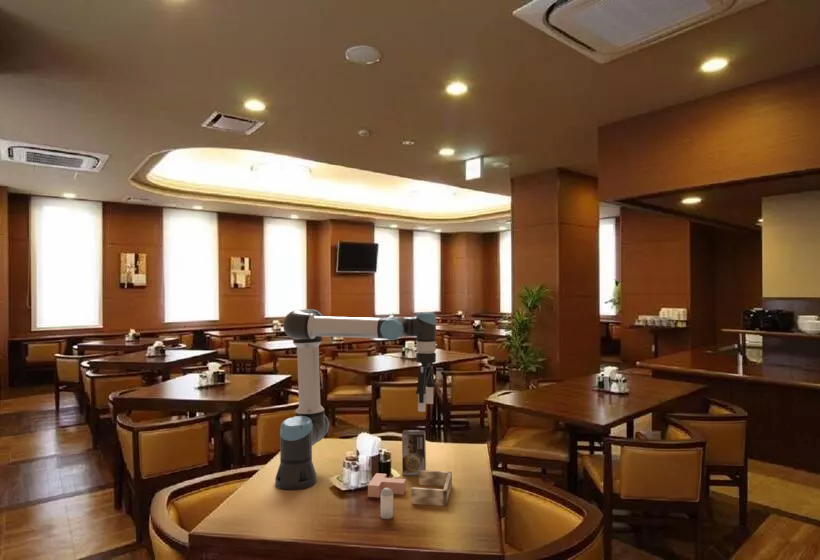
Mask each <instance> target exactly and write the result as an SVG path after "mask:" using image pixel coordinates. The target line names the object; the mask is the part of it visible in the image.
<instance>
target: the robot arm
mask: <svg viewBox="0 0 820 560" xmlns="http://www.w3.org/2000/svg"><path fill="white" fill-rule="evenodd" d="M436 317H437V316H436V314H435V313H434V311H433V312H432V311H427V312H426V311H424V312H423V311H418V312H417V313H416V315H415V316H414V317H409V316H388V317H387V318H386V317H384V318H383V317H382V318H380V317H353V316H352V317H351V316H350V317H348V316H324V315H323V314H322V313H321V312H320V311H318V310H316V309H313V308H312V309H310V308H307V309H305V308H304V309H295V310H292V311H291V312H289V313H287V315H286V316H285V318H284V319H283V324H282V326H283V327H282V328H283V331H284V333H285V334H286V336H287V337H289V338H290V339H292V343H293V345H294V346H295V347H296V352H297V355H296V356H297V357H296V358H297V384H298V385H297V386H298V387H297V388H298V407H297V408H296V409H295V410H294V412H295V413H294V415H295V416H292V417H289V418H286V419H284V420H283V421H282V422H281V424H280V430H279V436H280V440H279V441H280V442H279V443H280V444H279V445H280V452H279V454H280V455H279V457H280V463H279V466H278V468H277V472H276V475H275V479H274V480H275V481H274V483H275V484H276V485H275V484H274V485H275V486H276V488H278V487H280V488H279V489H281V488H283V489H282V490H286V489H288V490H287V491H294V490H296V491H297V490H303V489H307V488H309V487H312V486H314V485H315V484H316V483H317V473H316V469H315V466H314V463H313V446H314V445H316V444H317V443H319V442H320V441H322V440H323V438H324V437H325V436H326V434H327V433H328V430H329V426H330V424H329V423H330V421H329V418H328V417H327V416H326V414H325V413H326V412H325V408H324V406H322V405H321V379H320V375H321V374H320V351H319V349H320V348H319V347H320V345H321V344H322V343H323V337H324V338H325V337H327V338H329V337H330V338H352V339H353V338H355V339H356V338H360V339H382V340H384V339H385V340H388V341H395V340H398V339H399V338H402V337H416V340H415V342H416V343H415V345H416V350H415V351H416V358H415V360H416V363H419V364H421V365H420V366H418V374H417V375H418V376H417V377H418V378H417V385H416V391H415V394H416V395H417V412H419V413H420V412H422V413H425V412H426V411H427V409H426V406H427V405H434V388H436V384H435V383H436V382H435V377H434V376H435V375H434V363H436V361H437V360H436V359H437V358H436V357H437V353H436V350H437V349H436V347H438V344H437V342H436V341H437V340H436V339H437V321H436V320H437V318H436Z"/></svg>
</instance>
